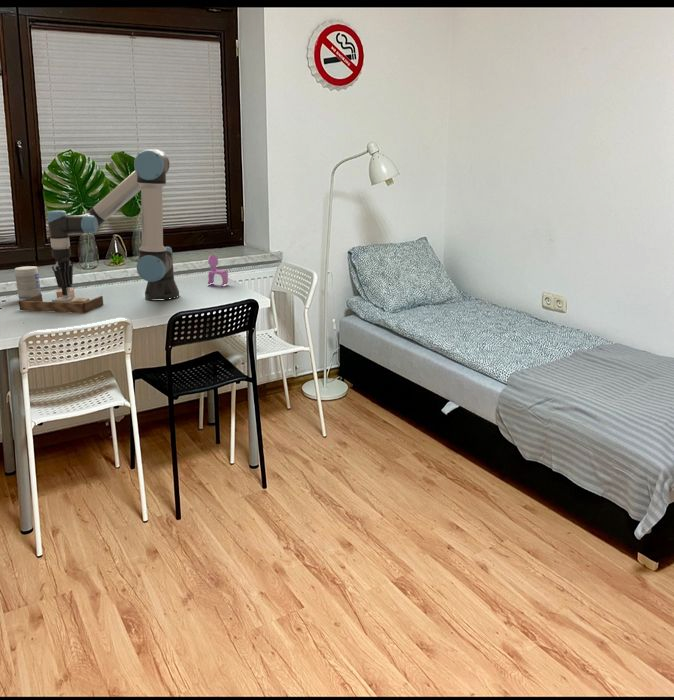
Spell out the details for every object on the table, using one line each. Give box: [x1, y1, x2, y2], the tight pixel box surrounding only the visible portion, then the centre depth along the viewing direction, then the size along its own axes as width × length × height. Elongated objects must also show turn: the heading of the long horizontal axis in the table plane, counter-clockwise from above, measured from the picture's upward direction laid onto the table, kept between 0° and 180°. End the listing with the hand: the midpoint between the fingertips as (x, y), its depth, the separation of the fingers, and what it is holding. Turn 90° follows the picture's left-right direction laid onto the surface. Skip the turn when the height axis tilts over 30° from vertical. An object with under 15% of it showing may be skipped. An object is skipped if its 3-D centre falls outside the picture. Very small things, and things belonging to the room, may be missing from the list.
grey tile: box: [51, 297, 74, 303], centre depth 296 cm, size 6×6×4 cm
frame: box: [18, 293, 104, 314], centre depth 295 cm, size 30×15×4 cm, turn 80°
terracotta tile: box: [56, 288, 76, 299], centre depth 313 cm, size 6×6×4 cm
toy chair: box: [207, 254, 229, 286], centre depth 337 cm, size 8×9×15 cm
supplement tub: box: [14, 265, 42, 301], centre depth 309 cm, size 10×10×15 cm
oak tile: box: [70, 297, 91, 303], centre depth 294 cm, size 6×6×4 cm
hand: (67, 302), depth 300 cm, fingers closed
